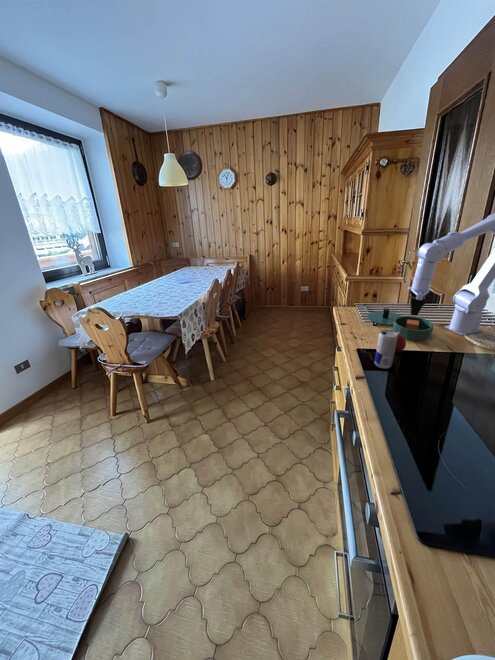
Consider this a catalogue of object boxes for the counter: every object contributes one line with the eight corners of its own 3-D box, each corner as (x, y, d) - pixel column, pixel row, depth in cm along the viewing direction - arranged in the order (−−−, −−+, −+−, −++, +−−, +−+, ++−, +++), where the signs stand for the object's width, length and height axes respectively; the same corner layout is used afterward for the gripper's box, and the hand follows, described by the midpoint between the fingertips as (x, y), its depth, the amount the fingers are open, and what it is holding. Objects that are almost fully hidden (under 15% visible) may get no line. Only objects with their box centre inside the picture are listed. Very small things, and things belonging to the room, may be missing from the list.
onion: (405, 357, 99) (410, 337, 95) (388, 356, 100) (392, 336, 96) (401, 348, 104) (405, 329, 100) (384, 347, 105) (388, 328, 101)
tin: (411, 324, 120) (414, 313, 118) (438, 338, 108) (441, 327, 106) (384, 330, 117) (386, 319, 115) (409, 345, 105) (412, 333, 103)
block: (405, 328, 116) (407, 319, 115) (416, 329, 115) (419, 320, 113) (405, 332, 113) (407, 323, 112) (416, 334, 112) (418, 324, 110)
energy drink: (377, 358, 99) (382, 328, 93) (393, 363, 96) (400, 332, 90) (372, 365, 95) (377, 334, 90) (388, 371, 92) (395, 339, 87)
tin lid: (387, 311, 133) (389, 301, 131) (410, 323, 121) (413, 312, 119) (360, 316, 130) (362, 305, 128) (381, 329, 118) (383, 318, 116)
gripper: (411, 271, 111) (402, 303, 117) (411, 281, 100) (401, 316, 106) (431, 273, 108) (422, 306, 114) (434, 284, 97) (423, 319, 103)
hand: (413, 311), depth 110 cm, fingers open, 7 cm apart
